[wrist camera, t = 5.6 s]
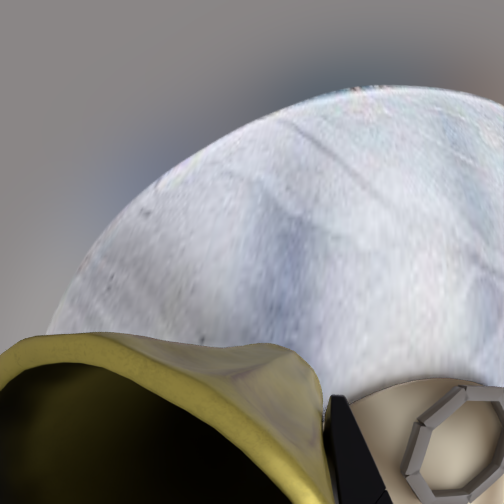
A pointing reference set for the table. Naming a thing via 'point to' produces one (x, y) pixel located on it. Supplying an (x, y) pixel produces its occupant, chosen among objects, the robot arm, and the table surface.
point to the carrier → (436, 440)
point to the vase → (159, 423)
